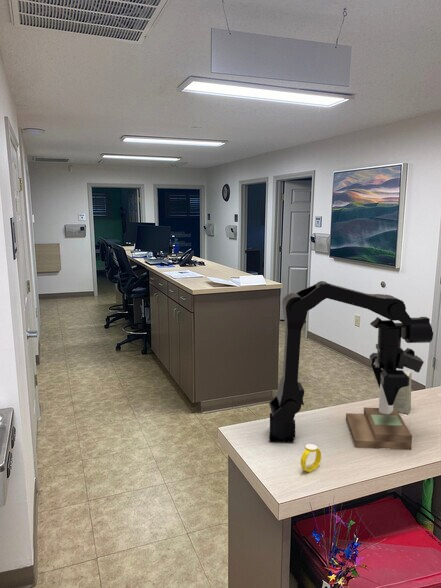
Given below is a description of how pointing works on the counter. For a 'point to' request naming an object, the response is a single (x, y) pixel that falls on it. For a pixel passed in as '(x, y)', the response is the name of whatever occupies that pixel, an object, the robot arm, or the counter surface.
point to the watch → (305, 454)
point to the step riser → (379, 430)
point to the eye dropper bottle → (384, 403)
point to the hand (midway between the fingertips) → (386, 398)
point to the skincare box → (404, 398)
